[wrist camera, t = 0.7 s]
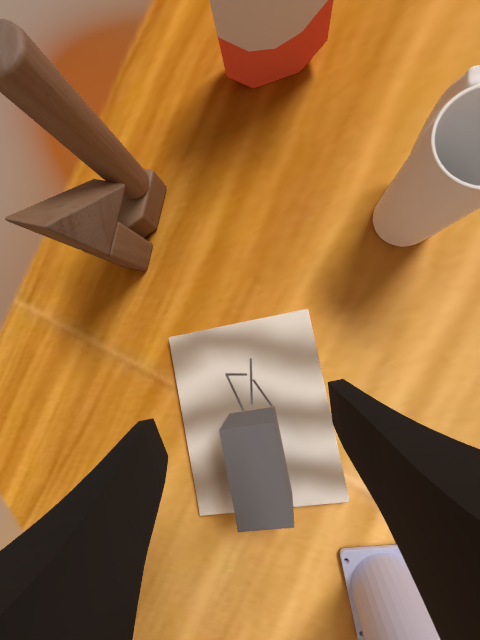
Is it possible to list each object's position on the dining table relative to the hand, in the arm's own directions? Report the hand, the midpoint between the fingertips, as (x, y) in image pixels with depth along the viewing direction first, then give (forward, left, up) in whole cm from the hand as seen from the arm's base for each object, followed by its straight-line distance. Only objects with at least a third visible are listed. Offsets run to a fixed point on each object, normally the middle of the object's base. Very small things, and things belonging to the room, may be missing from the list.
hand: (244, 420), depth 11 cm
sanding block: (-9, +3, -18) cm, 20 cm away
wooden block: (+19, +12, -19) cm, 30 cm away
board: (-5, +3, -19) cm, 20 cm away
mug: (+14, -17, -19) cm, 29 cm away
